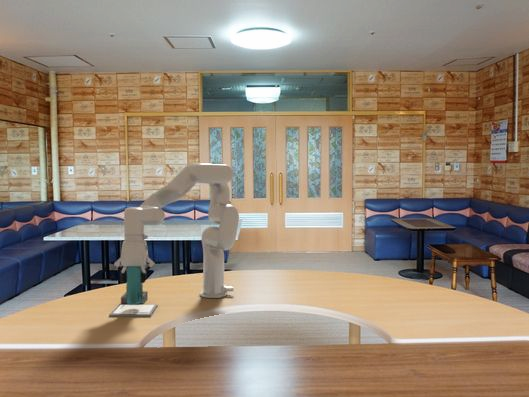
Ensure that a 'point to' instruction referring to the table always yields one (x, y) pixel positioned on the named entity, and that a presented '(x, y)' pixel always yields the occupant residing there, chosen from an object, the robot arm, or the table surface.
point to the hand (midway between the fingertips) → (134, 281)
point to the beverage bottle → (134, 285)
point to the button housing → (145, 297)
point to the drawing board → (133, 310)
